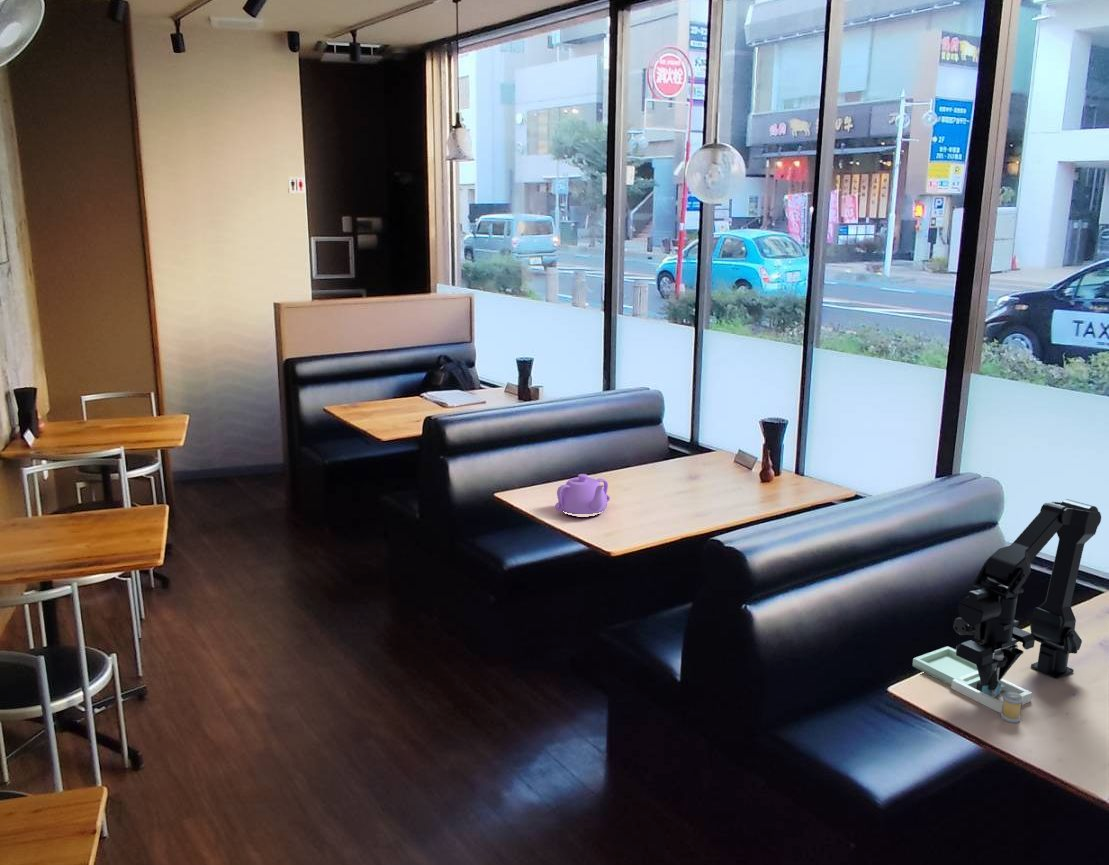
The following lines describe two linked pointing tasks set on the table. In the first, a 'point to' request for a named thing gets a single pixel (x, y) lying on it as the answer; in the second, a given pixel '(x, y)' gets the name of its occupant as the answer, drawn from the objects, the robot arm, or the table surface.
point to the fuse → (1011, 707)
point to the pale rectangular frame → (984, 697)
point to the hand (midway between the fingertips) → (991, 681)
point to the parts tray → (946, 666)
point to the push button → (994, 677)
